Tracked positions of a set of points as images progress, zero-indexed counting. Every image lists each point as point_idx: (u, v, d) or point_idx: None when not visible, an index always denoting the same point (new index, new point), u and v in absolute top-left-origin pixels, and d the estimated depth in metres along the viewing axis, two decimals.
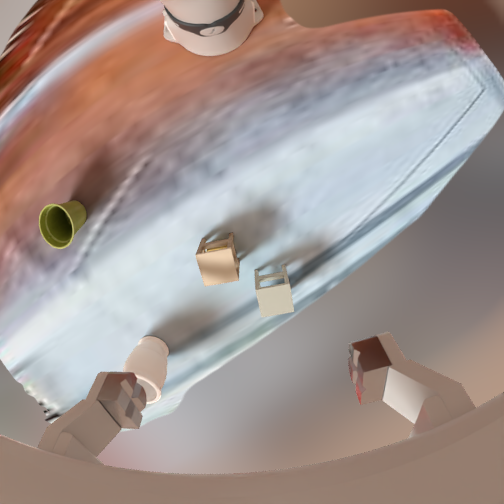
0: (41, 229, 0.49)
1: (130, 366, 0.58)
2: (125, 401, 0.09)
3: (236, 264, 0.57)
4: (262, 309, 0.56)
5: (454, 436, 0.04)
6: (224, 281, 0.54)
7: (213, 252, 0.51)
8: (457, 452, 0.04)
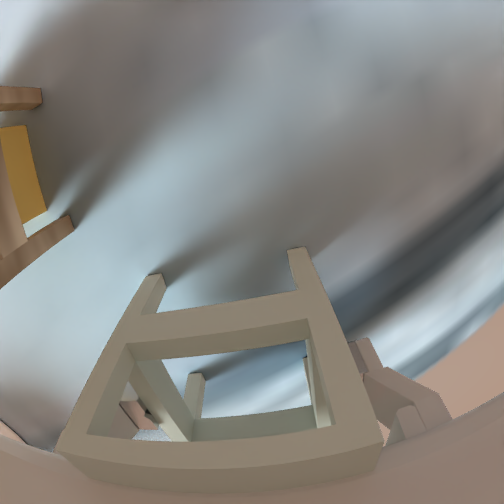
0: None
1: None
2: None
3: None
4: None
5: (454, 436, 0.04)
6: None
7: None
8: (457, 452, 0.04)
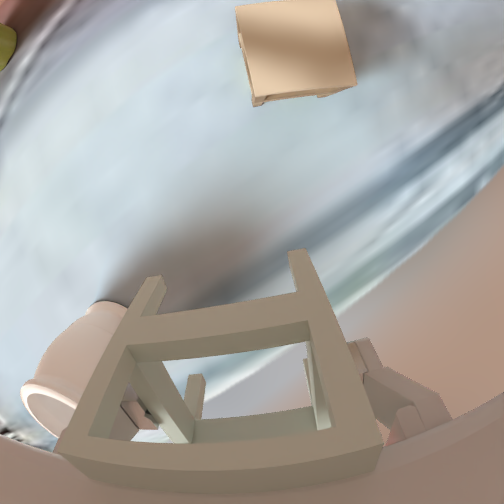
0: None
1: (44, 366, 0.19)
2: None
3: None
4: None
5: (454, 436, 0.04)
6: (317, 83, 0.15)
7: (287, 2, 0.13)
8: (457, 452, 0.04)
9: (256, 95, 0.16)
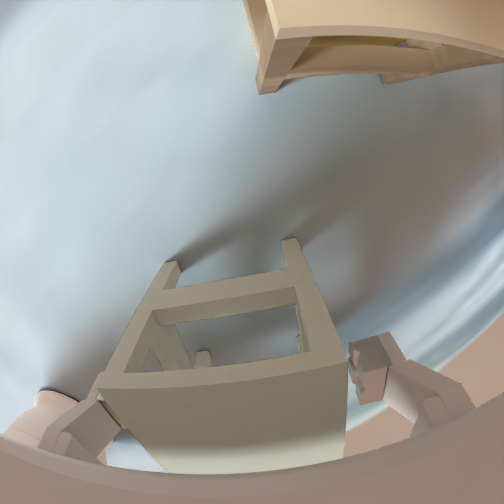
0: None
1: None
2: None
3: None
4: (174, 466, 0.08)
5: (454, 436, 0.04)
6: (460, 26, 0.03)
7: None
8: (457, 452, 0.04)
9: (281, 27, 0.04)
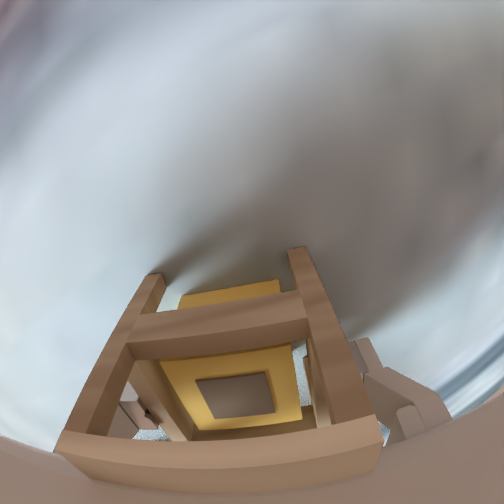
0: None
1: None
2: None
3: (330, 419, 0.09)
4: None
5: (454, 436, 0.04)
6: None
7: (196, 469, 0.04)
8: (457, 452, 0.04)
9: None
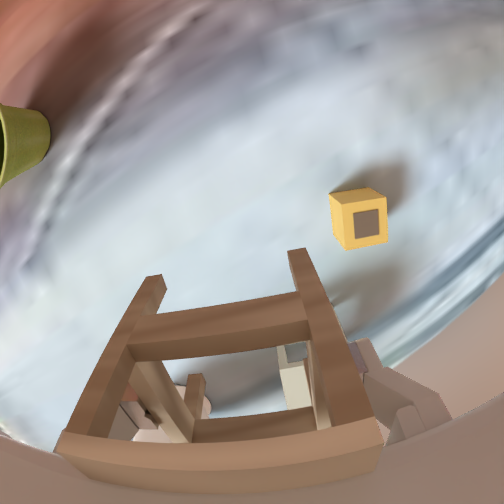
0: None
1: None
2: None
3: (330, 419, 0.09)
4: (290, 399, 0.25)
5: (454, 436, 0.04)
6: None
7: (197, 471, 0.04)
8: (457, 452, 0.04)
9: None
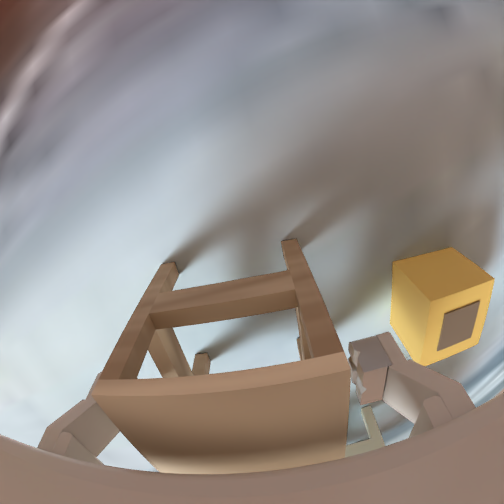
0: None
1: None
2: None
3: None
4: None
5: (454, 436, 0.04)
6: None
7: (210, 395, 0.06)
8: (457, 452, 0.04)
9: None
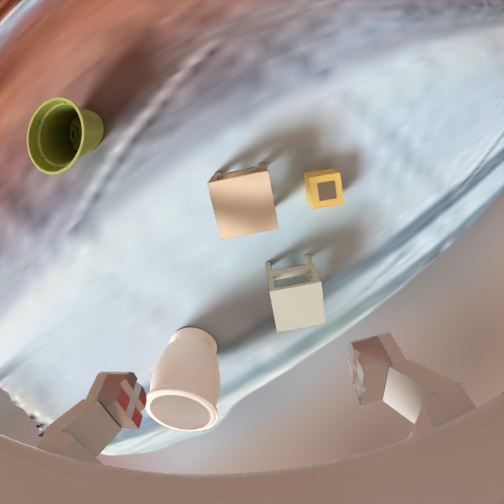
0: (29, 145, 0.27)
1: (165, 377, 0.36)
2: (125, 401, 0.09)
3: None
4: (278, 320, 0.37)
5: (454, 436, 0.04)
6: (254, 230, 0.32)
7: (238, 178, 0.30)
8: (457, 452, 0.04)
9: (221, 238, 0.33)
